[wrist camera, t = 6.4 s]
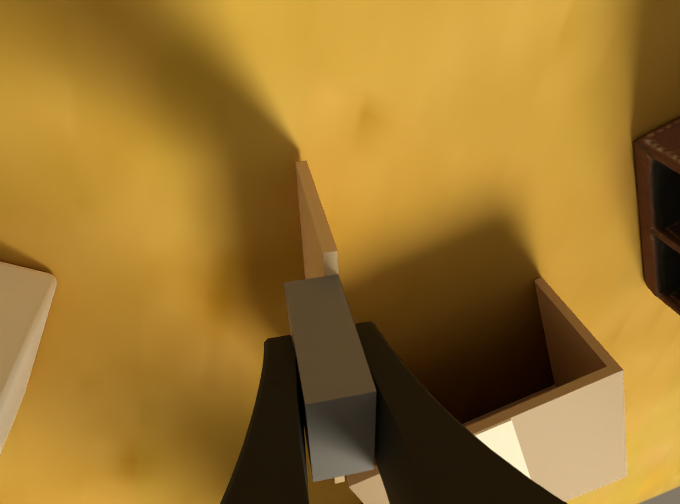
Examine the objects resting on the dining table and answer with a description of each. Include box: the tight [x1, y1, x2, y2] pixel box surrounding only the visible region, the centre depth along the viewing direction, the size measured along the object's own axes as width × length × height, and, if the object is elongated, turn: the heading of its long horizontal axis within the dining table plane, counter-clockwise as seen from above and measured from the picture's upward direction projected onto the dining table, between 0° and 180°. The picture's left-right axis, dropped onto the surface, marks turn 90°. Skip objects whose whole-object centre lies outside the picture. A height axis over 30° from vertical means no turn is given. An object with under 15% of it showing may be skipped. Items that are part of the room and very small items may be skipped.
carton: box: [346, 277, 627, 504], centre depth 25 cm, size 10×12×6 cm
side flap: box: [284, 161, 377, 484], centre depth 17 cm, size 2×12×10 cm, turn 2°
